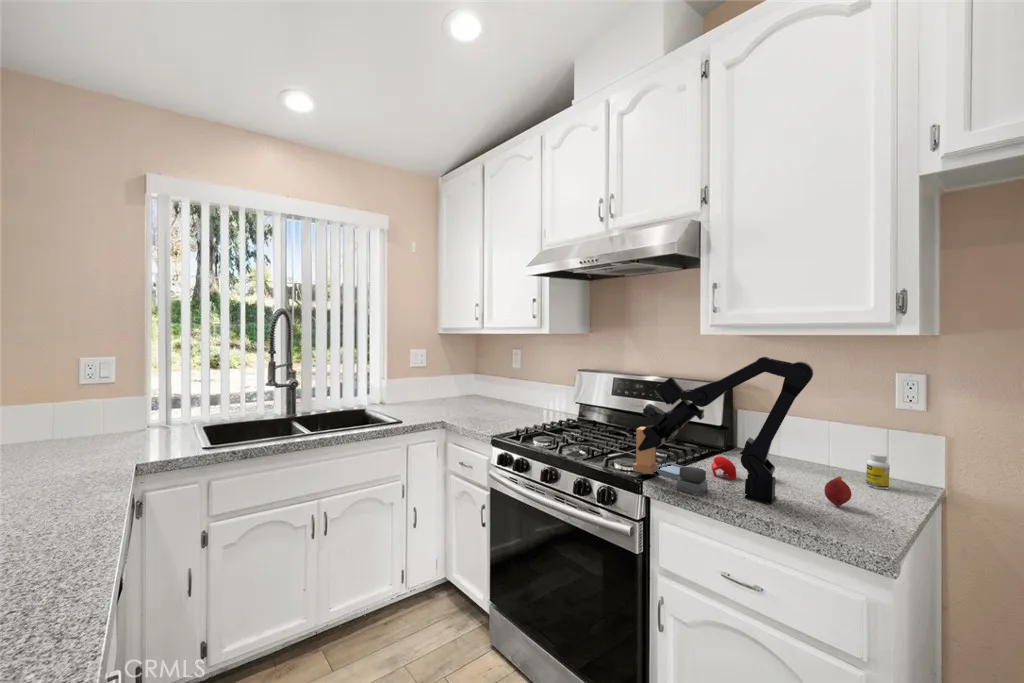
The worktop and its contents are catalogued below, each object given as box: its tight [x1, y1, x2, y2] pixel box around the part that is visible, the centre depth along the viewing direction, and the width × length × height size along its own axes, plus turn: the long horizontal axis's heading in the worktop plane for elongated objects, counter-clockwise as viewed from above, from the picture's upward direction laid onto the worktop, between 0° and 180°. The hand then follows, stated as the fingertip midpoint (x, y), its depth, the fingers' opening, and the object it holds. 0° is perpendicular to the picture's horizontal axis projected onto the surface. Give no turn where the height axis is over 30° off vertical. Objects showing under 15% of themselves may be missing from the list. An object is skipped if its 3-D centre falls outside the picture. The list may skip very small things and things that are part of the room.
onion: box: [823, 475, 852, 507], centre depth 123 cm, size 6×6×8 cm
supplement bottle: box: [865, 452, 891, 489], centre depth 139 cm, size 5×5×10 cm
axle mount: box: [676, 478, 709, 496], centre depth 133 cm, size 6×6×3 cm
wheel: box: [679, 466, 707, 482], centre depth 133 cm, size 7×7×5 cm
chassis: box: [657, 462, 685, 480], centre depth 149 cm, size 12×10×2 cm
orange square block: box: [632, 426, 659, 475], centre depth 145 cm, size 6×6×13 cm
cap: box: [711, 455, 737, 481], centre depth 146 cm, size 8×6×6 cm
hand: (641, 448), depth 146 cm, fingers closed on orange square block, 4 cm apart
